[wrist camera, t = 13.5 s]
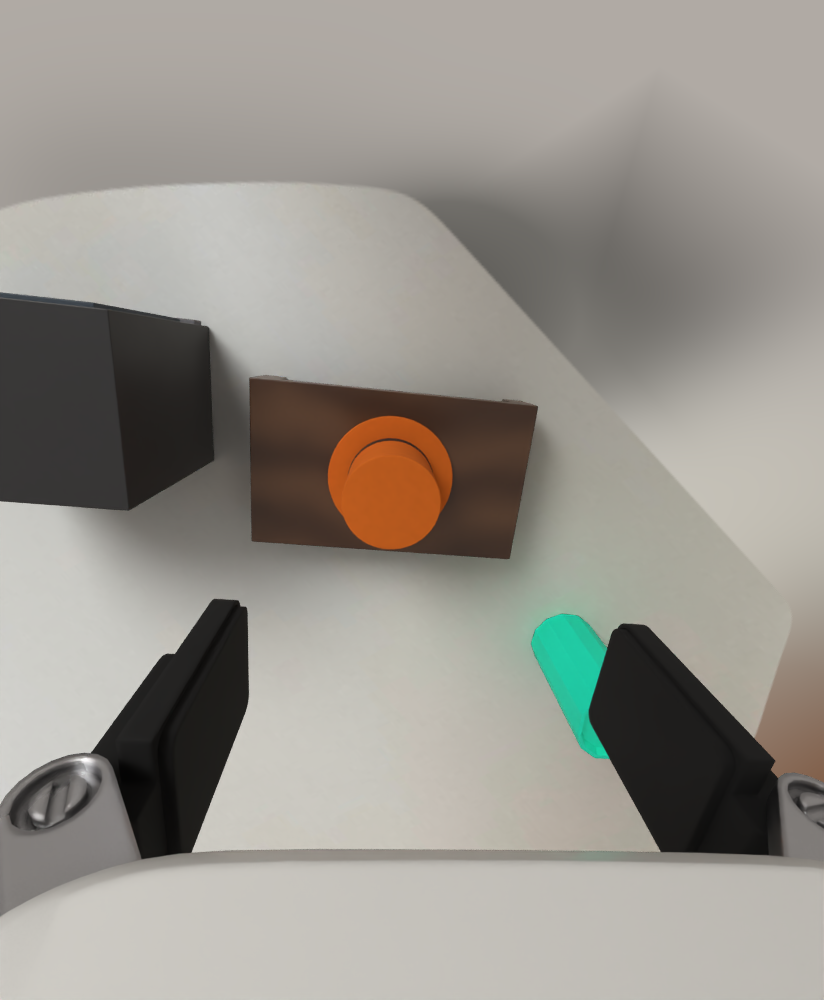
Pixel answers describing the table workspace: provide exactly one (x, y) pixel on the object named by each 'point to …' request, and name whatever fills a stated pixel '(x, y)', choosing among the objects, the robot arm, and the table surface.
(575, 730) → the candle
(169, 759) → the robot arm
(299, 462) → the stand
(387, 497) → the hat
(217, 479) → the table surface
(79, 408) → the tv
